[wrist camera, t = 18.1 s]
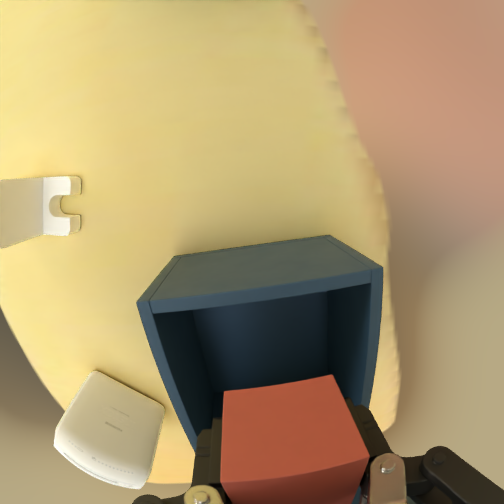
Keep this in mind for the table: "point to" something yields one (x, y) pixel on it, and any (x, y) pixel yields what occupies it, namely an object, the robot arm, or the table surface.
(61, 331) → the table surface
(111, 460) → the photo printer
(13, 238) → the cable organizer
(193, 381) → the box
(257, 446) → the block
